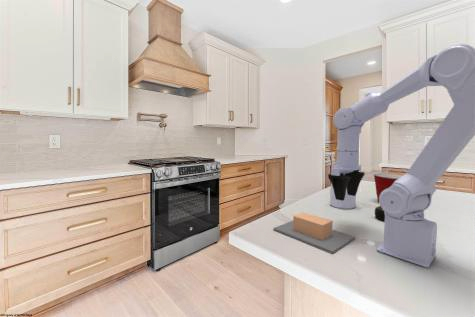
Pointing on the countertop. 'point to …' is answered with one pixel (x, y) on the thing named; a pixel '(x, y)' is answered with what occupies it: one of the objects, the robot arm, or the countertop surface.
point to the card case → (312, 225)
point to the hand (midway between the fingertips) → (345, 197)
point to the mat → (328, 244)
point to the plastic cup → (384, 181)
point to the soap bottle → (345, 204)
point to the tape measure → (379, 213)
